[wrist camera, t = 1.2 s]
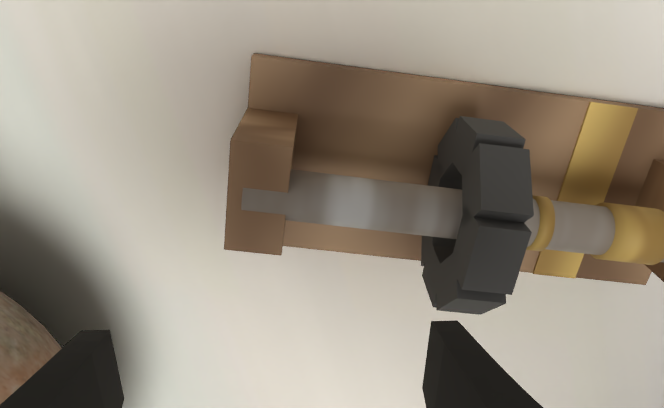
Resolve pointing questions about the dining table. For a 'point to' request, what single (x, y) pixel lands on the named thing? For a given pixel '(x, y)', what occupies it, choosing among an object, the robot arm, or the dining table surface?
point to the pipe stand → (416, 162)
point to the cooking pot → (21, 346)
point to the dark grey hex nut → (480, 216)
